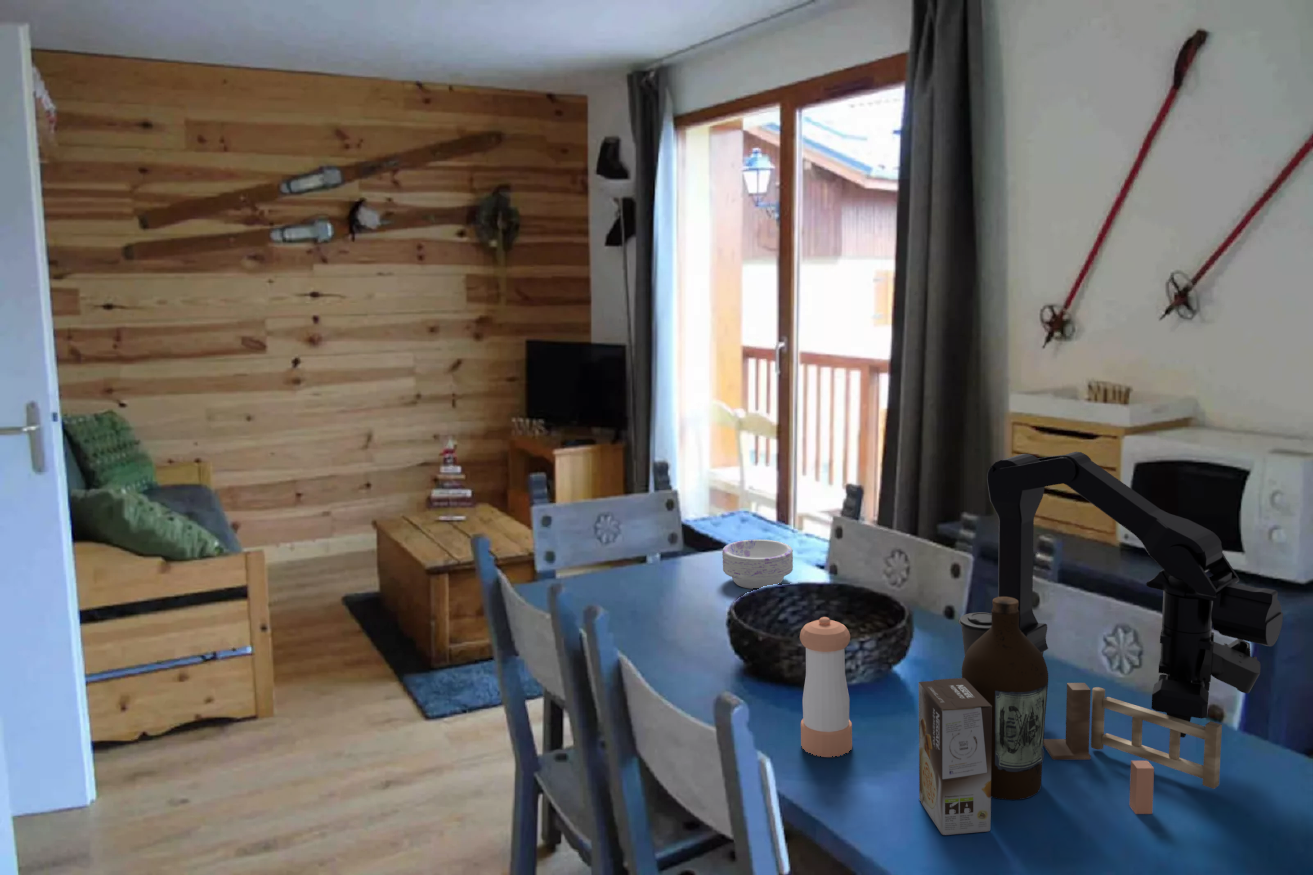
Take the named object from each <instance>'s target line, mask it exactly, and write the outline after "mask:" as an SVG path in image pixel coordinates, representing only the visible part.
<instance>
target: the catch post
mask: <svg viewBox="0 0 1313 875" xmlns="http://www.w3.org/2000/svg"><path fill="white" fill-rule="evenodd" d="M1154 777H1155V768H1154V766H1152V764H1151V763H1150V762H1149V760H1130V777H1129V778H1130V779H1129V805H1128V806H1129V807H1130V808H1131V810H1132V811H1133V812H1134V814H1135V815H1153V809H1154V808H1153V805H1154V802H1153V801H1154V784H1155V783H1154V781H1155V780H1154Z"/></svg>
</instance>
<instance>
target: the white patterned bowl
mask: <svg viewBox="0 0 1313 875" xmlns="http://www.w3.org/2000/svg"><path fill="white" fill-rule="evenodd" d="M793 551H794V549H793V548H792V547H791V545H790V544H787V543H785V542H781V541H777V540H771V539H746V540H745V539H744V540H739V541H734V542H731V543H728V544H726V545H725V546H724V547H723V549H722V571H723V573H724V574H725V575H727V576H728V577H731V579H732V581H733V582H734V583H735V584H736V585H737V586H739V587H741V588H744V589H749V590H754V589H753V588H761V587H763V586H767V585H773V584H778V583H780V584H781V583H782V582H783V580H784V577H785V576H787V575H789V574H791V573H792V572H793V570H794V569H793V567H794V566H793V564H794V562H793V561H794V555H793Z"/></svg>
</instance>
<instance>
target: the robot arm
mask: <svg viewBox="0 0 1313 875" xmlns="http://www.w3.org/2000/svg"><path fill="white" fill-rule="evenodd" d="M986 481H987V489H988V496H989V501H990V503H991V505H992V507H993V509H994V511H995V512H996V515H997V517H998V570H997V571H998V575H997V576H998V580H997V583H998V584H997V585H998V586H997V587H998V589H997V590H998V594H997V597H1011V598H1015V599H1017V600H1018V602H1019V606H1018V610H1019V629H1020V631H1021V632H1022V633H1023V634H1024V635H1025V636H1026V637H1027V638H1028V639H1029V640H1030V641H1031V642H1032V643H1033V644H1034V645H1035V646H1036V647H1037V649H1038V650H1039V651H1040V652H1041V654H1042V655H1043V656H1044V652H1045V651H1047V650H1048V649H1049V647H1048V645H1047V633H1048V624H1047V623H1045V622H1044V623H1043V622H1041V623H1040V622H1038V620H1037V618H1036V616H1035V614H1034V611H1033V594H1034V592H1033V588H1034V587H1033V586H1034V583H1033V582H1034V581H1033V580H1034V530H1035V529H1034V528H1035V526H1034V525H1035V524H1034V520H1035V515H1036V513H1037V510H1038V509H1039V506H1040V504H1041V502H1042V500H1043V498H1044V492H1045V488H1046V487H1051V486H1057V485H1062V484H1064V485H1065V486H1067V487H1069V488H1070V489H1072V491H1074V492H1075V493H1077V494H1078V495H1080V496H1081V497H1082V498H1083V499H1085V500H1086V501H1088V502H1089V503H1090V504H1091V505H1093V506H1094V507H1095V508H1097V509H1099V510H1100V511H1101V512H1103V514H1105V515H1106V516H1108V517H1110V518H1111V519H1112V520H1114V521H1115V522H1117V523H1118V524H1119V525H1121V527H1123V528H1125V530H1127V531H1129V532H1130V533H1132V535H1134V536H1135V538H1137V540H1139V541H1140V543H1141V544H1142V545H1143V547H1144V549H1145V551H1146V552H1147V554H1148V555H1149V557H1150V558H1151V559H1152V560H1153V561H1154V562H1155V563H1156V564H1157V565H1159V567H1160V568H1161V570H1160V571H1159V572H1158V574H1156V576H1155V577H1153V578H1151V579H1150V580H1148V581H1147V582H1146V584H1145V585H1146V587H1148V588H1151V589H1155V590H1159V591H1163V593H1162V594H1163V595H1162V597H1163V598H1162V618H1161V630H1160V636H1159V644H1160V658H1159V664H1158V674H1160V675H1159V677H1158V681H1157V682H1155V683H1154V684H1153V690H1152V693H1151V710H1153V711H1156V712H1159V713H1164V714H1165V713H1166V715H1169V716H1172V717H1175V718H1179V719H1182V720H1185V721H1188V722H1191V720H1192V718H1196V719H1197V718H1198V719H1206V718H1208V710H1209V698H1210V693H1209V691H1210V685H1211V684H1210V683H1211V680H1212V677H1213V678H1214V679H1216V680H1218V681H1221V682H1222V683H1224V684H1226V685H1229V686H1231V687H1233V688H1235V689H1237V691H1238V692H1241V693H1243V694H1249V693H1250V692H1251V690H1252V688H1253V686H1254V685H1255V683H1256V681H1257V679H1258V678H1259V676H1260V674H1261V662H1260V661H1259V660H1258V657H1257V656H1252V652H1251V643H1254V644H1259V645H1263V646H1266V647H1273V646H1274V645H1275V644H1276V643H1277V640H1278V638H1279V636H1280V634H1281V630H1282V626H1283V621H1284V620H1283V618H1284V613H1283V612H1282V605H1281V602H1280V600H1278V595H1279V594H1278V593H1279V592H1278V591H1277V590H1276V589H1272V588H1266V587H1265V588H1264V587H1262V588H1260V587H1259V588H1258V587H1254V586H1249V585H1245V584H1240V583H1239V582H1240V578H1239V576H1238V574H1237V572H1236V571H1235V570H1234V568H1233V566H1232V565H1231V564H1230V562H1229V561H1228V559H1227V557H1226V556H1225V554H1224V552H1223V551H1224V550H1223V547H1222V541H1221V539H1220V538H1219V536H1218V535H1217V534H1216V533H1215V532H1214V531H1211V530H1210V529H1208V528H1206V527H1204V526H1202V525H1200V524H1198V523H1197V522H1194V521H1192V520H1190V519H1188V518H1184V517H1182V516H1179V515H1175V514H1171V513H1169V512H1166V511H1165V510H1163V509H1162V508H1161V509H1160V508H1159V507H1158V506H1157V505H1155V504H1154V503H1153V502H1151V501H1149V500H1148V499H1146V497H1144V496H1142V495H1141V494H1139V493H1138V492H1137V491H1136V490H1134V489H1133V488H1131V487H1130V486H1128V485H1127V484H1125V483H1124V482H1123V481H1121V480H1119V479H1118V478H1117V477H1115V476H1114V475H1112V473H1110V472H1108V471H1107V470H1106V469H1104V468H1103V467H1101V466H1099V465H1098V464H1096V462H1094V461H1093V460H1092V459H1091V458H1090V456H1089V455H1087V454H1086V453H1083V452H1082V451H1072V452H1070V453H1067V454H1059V455H1051V456H1046V457H1039V458H1038V457H1037V456H1035V455H1033V454H1030V453H1022V454H1020V453H1019V454H1017V455H1015V456H1011V457H1008V458H1004V459H1000V460H998V461H995V463H993V464H992V465H991V466H990V467H989V468H988V470H987V473H986ZM1207 572H1209V573H1210V574H1212V575H1211V576H1208V575H1207ZM1212 626H1213V629H1212ZM1213 630H1214V632H1213ZM1215 631H1217V632H1218V633H1219V635H1221V636H1224V637H1225V636H1226V637H1229V638H1233V639H1235V640H1234V641H1232V642H1231V643H1229V644H1227V643H1226V642H1225V643H1223V644H1221V643H1219V642H1216V641H1215ZM1186 735H1187V734H1185V733H1182V732H1181V734H1180V738H1186Z"/></svg>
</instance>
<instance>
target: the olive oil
mask: <svg viewBox="0 0 1313 875" xmlns="http://www.w3.org/2000/svg"><path fill="white" fill-rule="evenodd" d="M991 605H992V609H991V614H992V626H991V628H990V629H989V630H988V631H987V632H986V633H984V634H983V635H982V636H981V637H980V638H979V639H978V640H977V641H975V642H974V643H973V644H972V645H971V646H970V648H969V649H968V650H967V652H966V655H965V654H964V658H963V660H962V665H961V678H965V679H966V680H967V681H968V682H969V683H970V684H971V685H972V686H973V687H974V688H975V689H976V690H977V691H978V692H979V693H980V694H981V695H982V696H983V697H984V698H985V699H986V700H987V702H988V703H990V705H991V706H992V734H991V798H992V799H993V798H994V799H998V800H1007V801H1008V800H1010V801H1014V800H1015V801H1016V800H1024V799H1028V798H1031V797H1034V796H1035V795H1036V794H1038V792H1040V790H1041V786H1042V777H1043V776H1042V775H1043V763H1044V759H1045V749H1044V745H1043V742H1044V739H1045V729H1046V728H1045V726H1046V714H1047V713H1046V711H1047V701H1048V700H1047V699H1048V688H1049V671H1048V670H1049V669H1048V666H1047V663H1046V660H1045V657H1044V654H1043V655H1042V654H1041V652H1040V651H1039V650H1038V649H1037V647H1036V646H1035V645H1034V644H1033V643H1032V642H1031V641H1030V640H1029V639H1028V638H1027V637H1026V636H1025V635H1024V634H1023V633H1022V632H1021V631H1020V629H1019V610H1018V606H1019V602H1018V600H1017V599H1015V598H1011V597H998V596H996V597H994V598H993V599H992V604H991Z"/></svg>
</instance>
